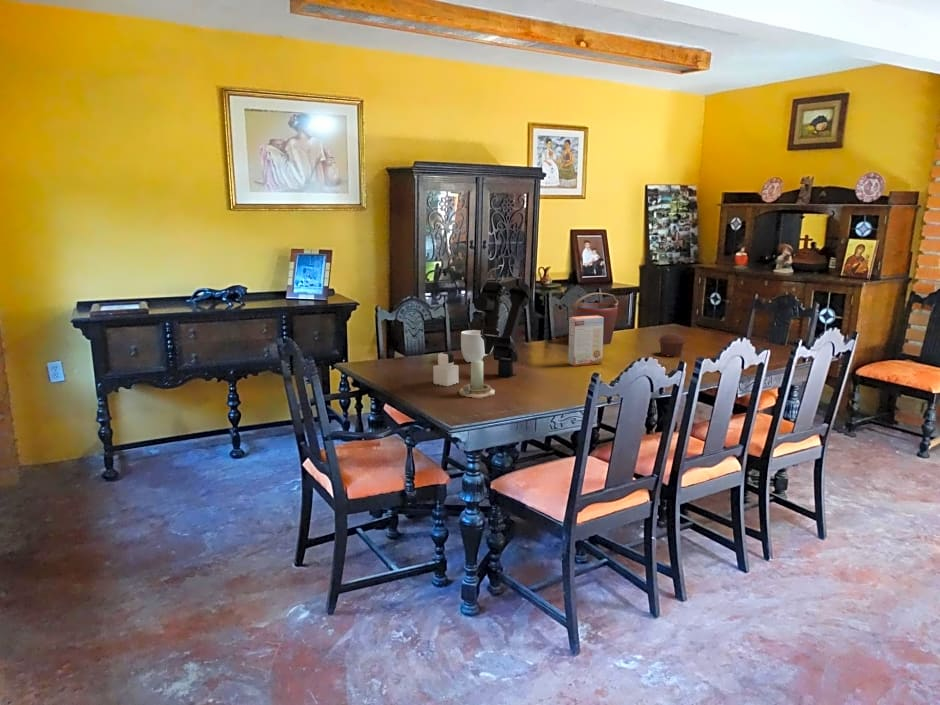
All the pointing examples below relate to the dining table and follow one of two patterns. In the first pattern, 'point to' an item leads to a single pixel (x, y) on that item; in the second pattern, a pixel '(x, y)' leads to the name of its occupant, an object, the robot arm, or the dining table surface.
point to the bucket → (599, 313)
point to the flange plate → (477, 391)
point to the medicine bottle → (446, 370)
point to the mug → (472, 345)
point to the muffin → (671, 344)
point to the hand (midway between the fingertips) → (487, 354)
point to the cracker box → (585, 340)
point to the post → (476, 374)
